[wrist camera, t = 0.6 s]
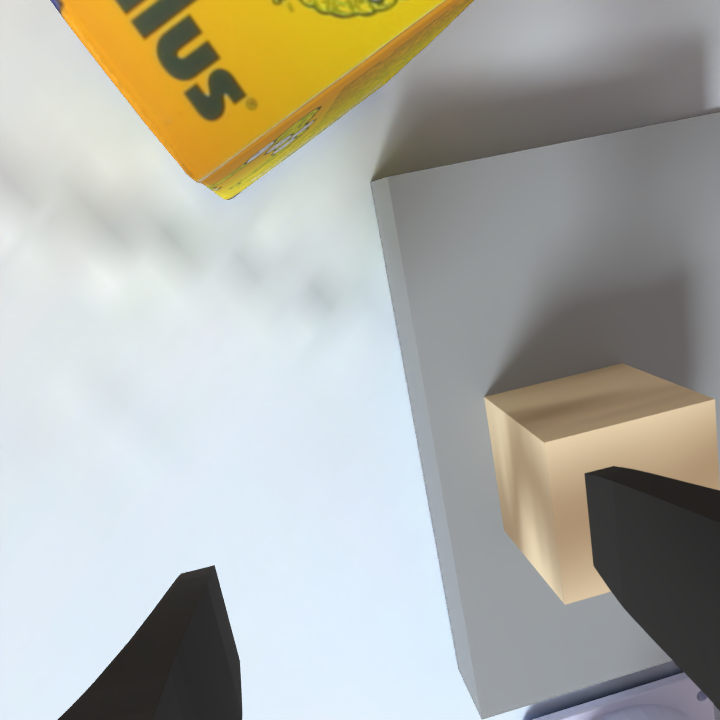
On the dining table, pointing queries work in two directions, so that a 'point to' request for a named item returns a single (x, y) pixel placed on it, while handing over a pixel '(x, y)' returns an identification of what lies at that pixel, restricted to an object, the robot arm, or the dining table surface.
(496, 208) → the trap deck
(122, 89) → the supplement box
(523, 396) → the maple block
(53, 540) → the dining table surface
